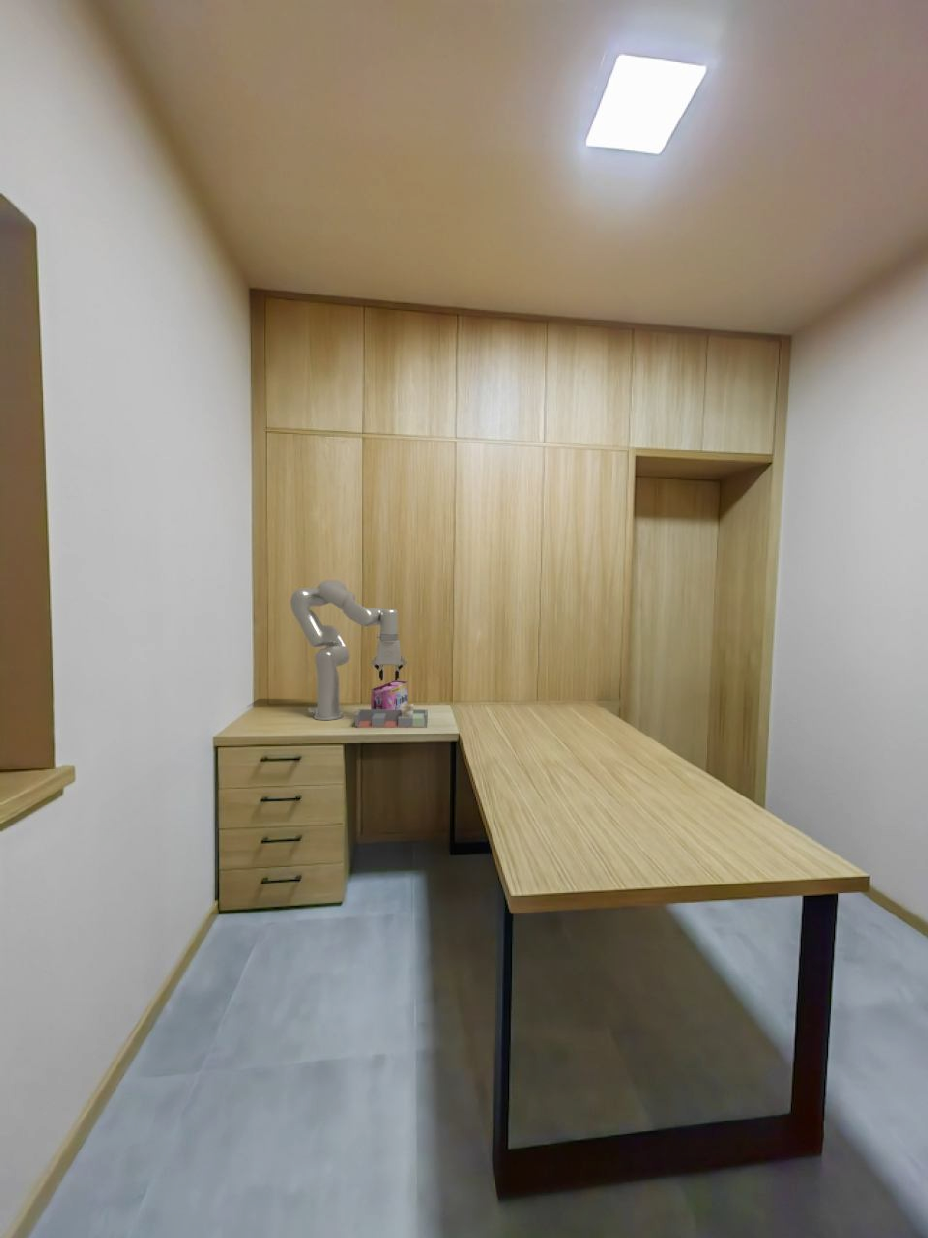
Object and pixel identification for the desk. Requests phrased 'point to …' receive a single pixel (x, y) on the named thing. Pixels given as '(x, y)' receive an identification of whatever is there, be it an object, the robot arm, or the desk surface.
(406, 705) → the cream block
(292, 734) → the desk surface
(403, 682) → the gum box
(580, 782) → the desk surface
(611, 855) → the desk surface
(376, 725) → the track
